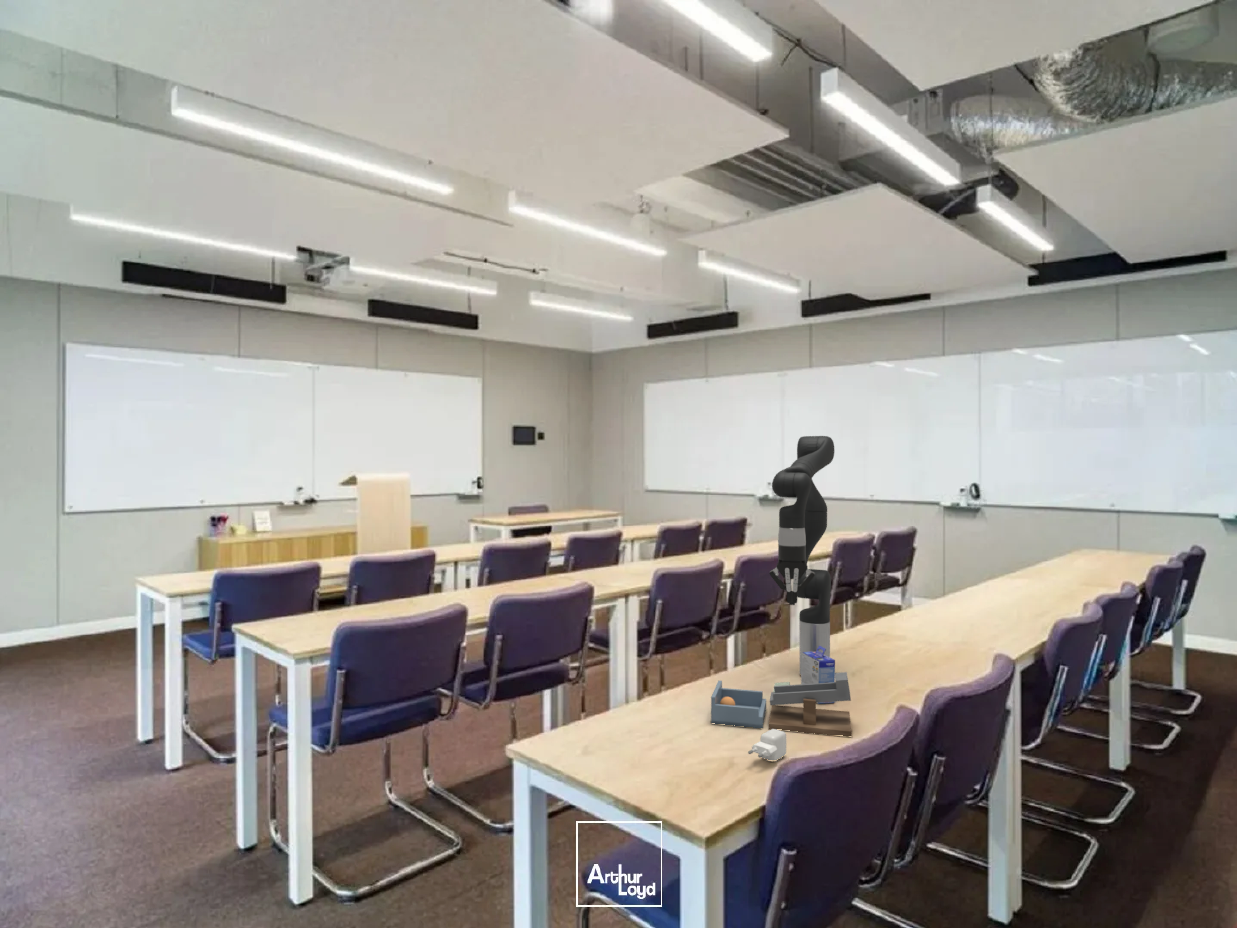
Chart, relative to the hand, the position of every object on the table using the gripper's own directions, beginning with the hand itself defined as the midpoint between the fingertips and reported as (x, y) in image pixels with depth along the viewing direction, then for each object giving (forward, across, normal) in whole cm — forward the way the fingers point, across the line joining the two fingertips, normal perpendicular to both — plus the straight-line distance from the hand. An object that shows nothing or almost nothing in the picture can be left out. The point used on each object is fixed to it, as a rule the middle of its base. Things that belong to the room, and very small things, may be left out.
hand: (792, 604), depth 203 cm
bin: (+27, +13, +17) cm, 34 cm away
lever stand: (+27, -5, +17) cm, 32 cm away
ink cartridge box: (+27, -7, -3) cm, 28 cm away
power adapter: (+27, +4, +43) cm, 51 cm away
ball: (+24, +16, +17) cm, 34 cm away
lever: (+22, -5, +13) cm, 26 cm away
